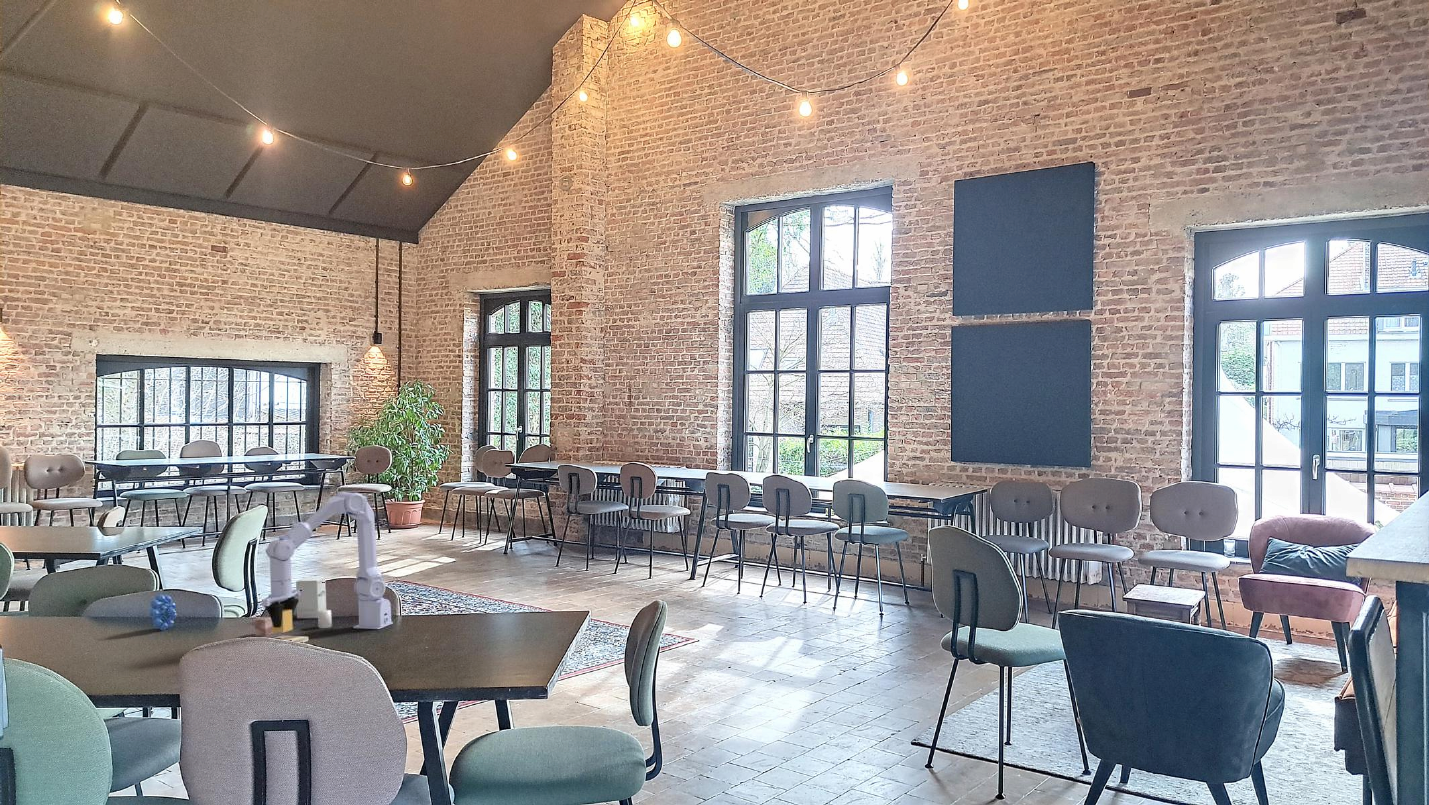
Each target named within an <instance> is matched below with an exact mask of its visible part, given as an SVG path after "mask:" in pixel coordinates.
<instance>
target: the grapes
mask: <svg viewBox="0 0 1429 805" xmlns="http://www.w3.org/2000/svg"><path fill="white" fill-rule="evenodd" d="M150 606H151V608H152V609H151V610H150V611H149V613H148V614H149V617H150V618H152V625H153V627H156V628H158V629H159V630H161V631H166V630H167V629H168V628H172V627H173V625H174V624H175V622H174V620H175V619H176V617H177V615H178V614H177V611H176V607H177V605H176V602H174V600H172V597H171V595H169V594H163V593H159V594H157V595H156V596H155V599H153V600H152V601H151V602H150Z"/></svg>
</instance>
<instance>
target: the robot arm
mask: <svg viewBox="0 0 1429 805" xmlns="http://www.w3.org/2000/svg"><path fill="white" fill-rule="evenodd" d="M340 514H347V515H348V516H350V517H351V518H353V519H355V520H356V532H357V533H356V534H357V552H358V567H359V569H358V570H357V572H356V573H355V576H356V577H355V581H354V585H353V590H354V592H355V593H356V594H357V599H358V600H357V602H358V604H357V605H358V624H357V625H354V626H353V627H352V628H353V629H365V630H367V629H368V630H370V629H371V630H380V629H383V628H386V627H388V626H390V625H393V624H394V622H393V621H392V604H391V602H390V600H389V599H387V598H384V597H383V596H384V594H385V592H386V588H387V587H386V583H385V582H384V579H383V574H382V572H381V571H380V569H379V568H378V560H377V559H378V558H377V540H376V526H375V525H376V524H375V523H376V522H375V513H374V510H373V508H372V507H371V506H370V504H369V502H368V498H367V497H366V496H365V495H362V494H361V493H360V492H349V491H348V492H347V491H344V490H343V491H339V492H337V493H336V494H335V495H333V496H332V497H330V498H329V499H328V500H327V502H326V503H324V504H323V505H322V506H321V507H320V508H319V509H318V510H317V511H316V512H315V513H313V514H312V515H311V516H310V517H309V518H308V519H306V521H304V522H301V521H298V522H297V523H296V522H294V523H293V524H292V525H291V526H290V527H291V528H290V529H289V530H287V531H286V532H284V533H283V534H280V535H278V539H273V540H272V541H270V542H269V544H268V546H267V548H266V549H265V552H266V553H265V554H266V556H268V558H269V571H270V572H269V574H270V575H269V576H270V577H269V578H270V594H268V596H267V597H265V598H262V599H261V606H262V607H264V608H265V610H266V611H267V613H268V615H269V617H271V620H272V623H273V626H274V627H281V622H282V611H283V609H289V610H292V619H293V617H294V613H295V610H296V609H297V604H298V602H299V599H296V597H299V596H301V593H300V590H296V589H294V590H293V589H292V563H291V558H292V557H293V556H294V554H295V550H297V549H298V548H299V547H300V546H302V544H304V543H305V542H306V541H307V540H309V539H310V538H311V537H312V535H313V530H315V529H317V527H319V526H320V525H322V524H323V523H324V522H325V521H328V519H330V518H331V517H332V516H334V515H340Z"/></svg>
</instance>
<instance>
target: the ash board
mask: <svg viewBox="0 0 1429 805" xmlns="http://www.w3.org/2000/svg"><path fill="white" fill-rule="evenodd" d="M274 638H281V639H283V640H292V641H296V642H303V643H306V642H309V636H303V635H302V636H298V635H297V636H296V635H278V636H274ZM303 643H302V644H303Z"/></svg>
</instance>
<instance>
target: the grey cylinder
mask: <svg viewBox="0 0 1429 805" xmlns="http://www.w3.org/2000/svg"><path fill="white" fill-rule="evenodd" d="M332 620H333V619H332V610H331V609H326V610H321V611H318V618H317V621H318V622H317V624H318V625H317V626H318V627H317V628H319V629H328V628H332V626H333V622H332Z"/></svg>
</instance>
